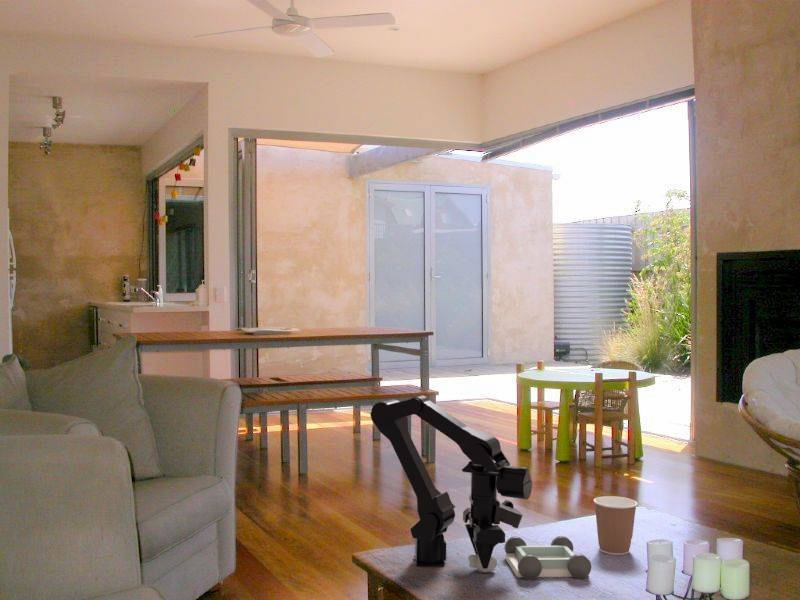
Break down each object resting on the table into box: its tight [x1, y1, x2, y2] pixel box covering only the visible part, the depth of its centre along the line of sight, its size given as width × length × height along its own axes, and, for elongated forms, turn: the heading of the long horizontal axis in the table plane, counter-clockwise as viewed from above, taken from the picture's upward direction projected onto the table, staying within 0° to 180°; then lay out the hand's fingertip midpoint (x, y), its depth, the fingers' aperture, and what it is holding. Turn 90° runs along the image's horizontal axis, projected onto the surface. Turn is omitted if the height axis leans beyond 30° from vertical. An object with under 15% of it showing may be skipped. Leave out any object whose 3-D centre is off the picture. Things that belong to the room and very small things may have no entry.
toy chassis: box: [504, 535, 592, 581], centre depth 193 cm, size 16×15×5 cm
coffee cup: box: [593, 495, 638, 556], centre depth 206 cm, size 10×10×12 cm
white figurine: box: [468, 549, 498, 574], centre depth 189 cm, size 5×7×8 cm
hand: (482, 563), depth 189 cm, fingers open, 6 cm apart
